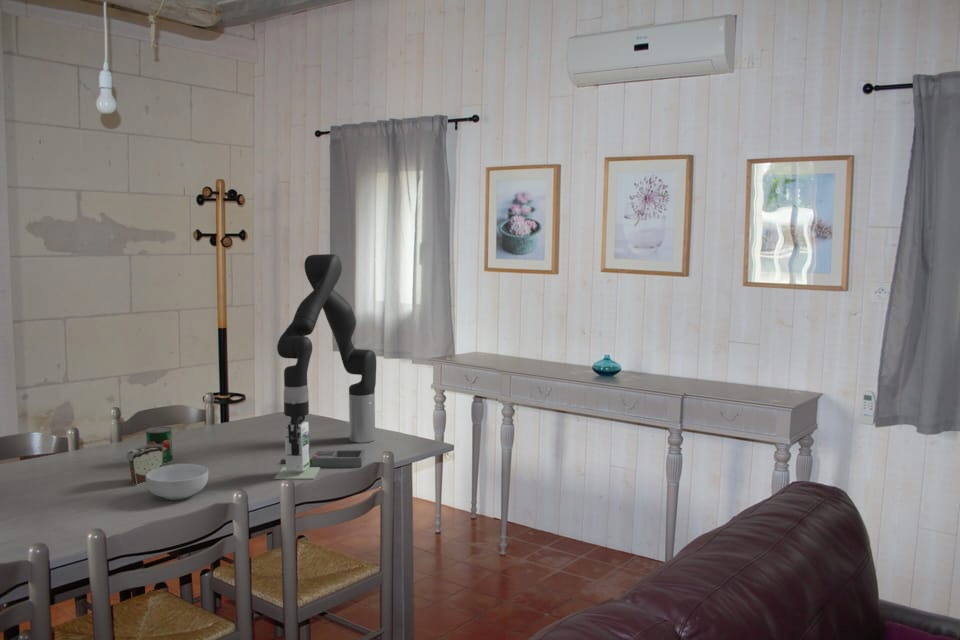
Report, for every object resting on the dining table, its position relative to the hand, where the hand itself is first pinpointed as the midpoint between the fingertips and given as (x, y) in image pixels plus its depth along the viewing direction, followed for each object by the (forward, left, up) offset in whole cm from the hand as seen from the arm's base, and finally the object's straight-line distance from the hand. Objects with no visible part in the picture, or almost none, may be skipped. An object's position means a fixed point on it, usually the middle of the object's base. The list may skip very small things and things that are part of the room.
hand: (297, 452), depth 256 cm
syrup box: (0, 0, -5) cm, 5 cm away
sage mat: (0, 0, -7) cm, 7 cm away
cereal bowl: (+21, -30, -7) cm, 37 cm away
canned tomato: (-14, -48, -7) cm, 51 cm away
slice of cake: (+6, -46, -7) cm, 47 cm away
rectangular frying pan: (-12, +5, -7) cm, 15 cm away
